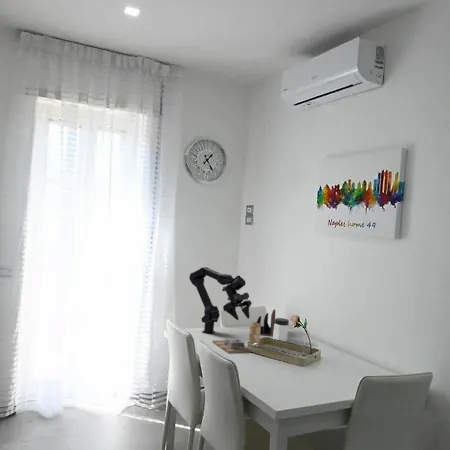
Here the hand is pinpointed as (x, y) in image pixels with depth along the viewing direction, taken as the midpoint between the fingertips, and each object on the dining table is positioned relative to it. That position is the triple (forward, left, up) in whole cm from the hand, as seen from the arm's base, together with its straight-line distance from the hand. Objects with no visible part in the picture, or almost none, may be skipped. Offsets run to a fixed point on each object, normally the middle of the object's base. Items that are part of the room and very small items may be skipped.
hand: (243, 319), depth 271 cm
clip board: (+11, -3, -14) cm, 18 cm away
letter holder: (-35, +7, -14) cm, 38 cm away
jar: (-21, +19, -14) cm, 31 cm away
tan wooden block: (+1, +7, -14) cm, 15 cm away
